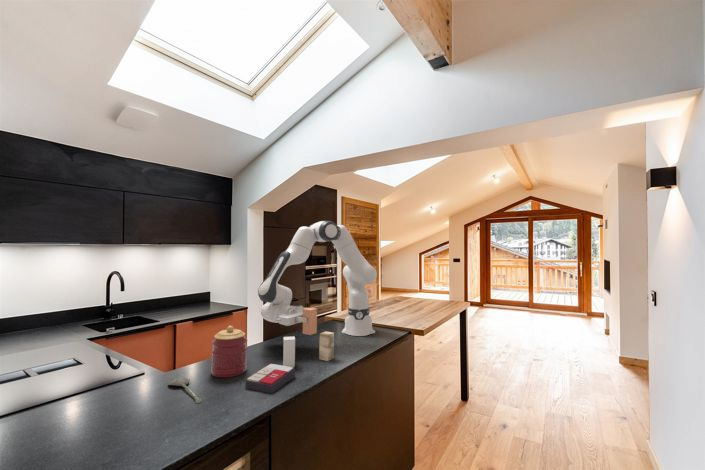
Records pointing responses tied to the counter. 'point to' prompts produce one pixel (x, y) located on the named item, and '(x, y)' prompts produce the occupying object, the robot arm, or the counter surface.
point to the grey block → (289, 351)
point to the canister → (229, 353)
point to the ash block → (326, 346)
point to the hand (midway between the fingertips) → (311, 318)
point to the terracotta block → (310, 321)
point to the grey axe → (183, 383)
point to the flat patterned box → (270, 378)
